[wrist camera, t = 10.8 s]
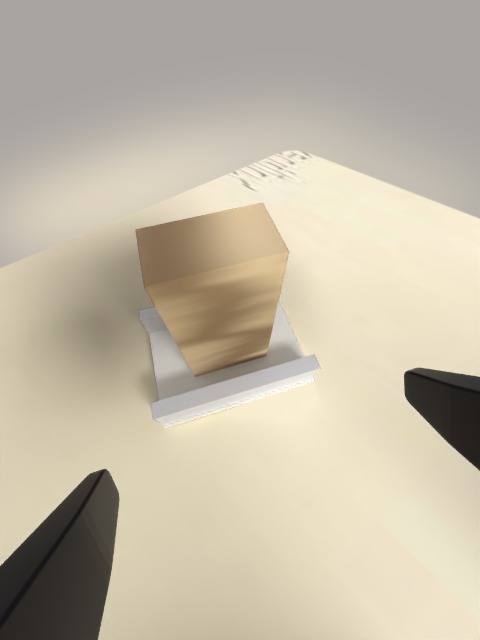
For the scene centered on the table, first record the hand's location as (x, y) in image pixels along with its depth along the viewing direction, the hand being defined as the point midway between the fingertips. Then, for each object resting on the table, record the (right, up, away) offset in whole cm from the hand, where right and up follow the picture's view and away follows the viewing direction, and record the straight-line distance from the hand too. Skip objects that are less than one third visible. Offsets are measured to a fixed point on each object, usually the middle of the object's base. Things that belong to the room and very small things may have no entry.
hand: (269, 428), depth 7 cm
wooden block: (-2, +1, +12) cm, 12 cm away
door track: (-2, +1, +13) cm, 13 cm away
